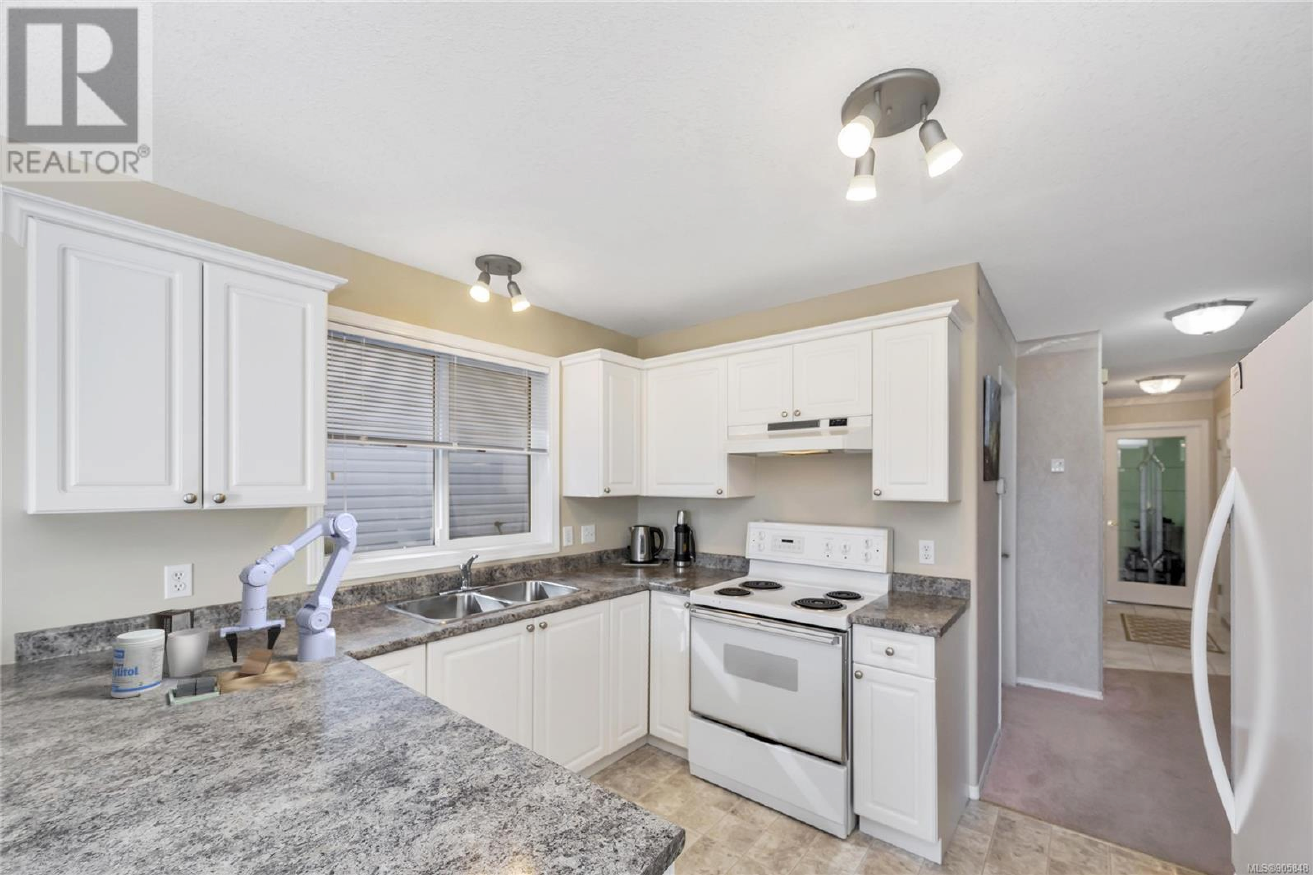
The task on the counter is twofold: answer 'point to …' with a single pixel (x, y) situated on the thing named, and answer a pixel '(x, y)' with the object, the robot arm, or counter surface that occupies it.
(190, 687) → the dark grey cube
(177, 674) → the cup
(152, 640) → the supplement tub
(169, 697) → the tray
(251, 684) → the slot board
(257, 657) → the brown wooden block
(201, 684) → the grey cube
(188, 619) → the coffee box
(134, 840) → the counter surface
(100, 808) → the counter surface
